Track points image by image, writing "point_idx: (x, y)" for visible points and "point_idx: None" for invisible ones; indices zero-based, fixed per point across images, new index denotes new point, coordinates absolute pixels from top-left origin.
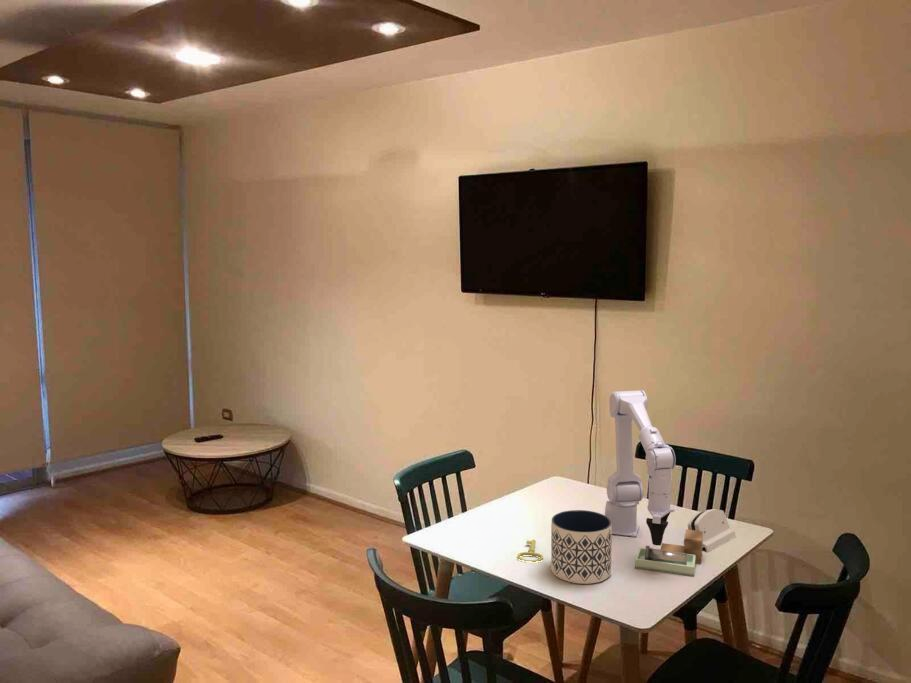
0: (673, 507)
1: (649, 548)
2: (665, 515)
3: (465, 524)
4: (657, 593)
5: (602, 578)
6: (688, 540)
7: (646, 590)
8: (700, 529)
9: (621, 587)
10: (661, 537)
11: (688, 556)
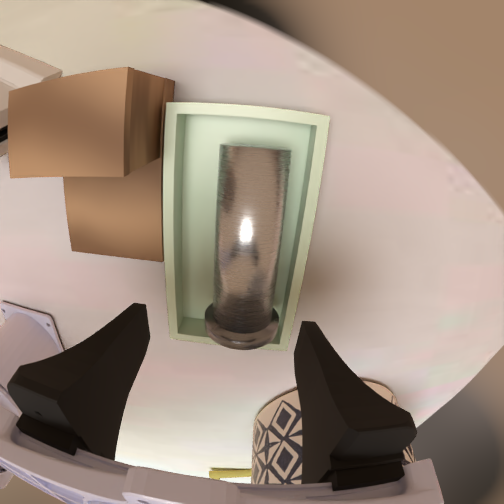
0: (126, 496)
1: (241, 332)
2: (89, 392)
3: None
4: (456, 260)
5: (387, 392)
6: (128, 149)
7: (437, 290)
8: None
9: (414, 347)
10: (335, 358)
11: (177, 136)
